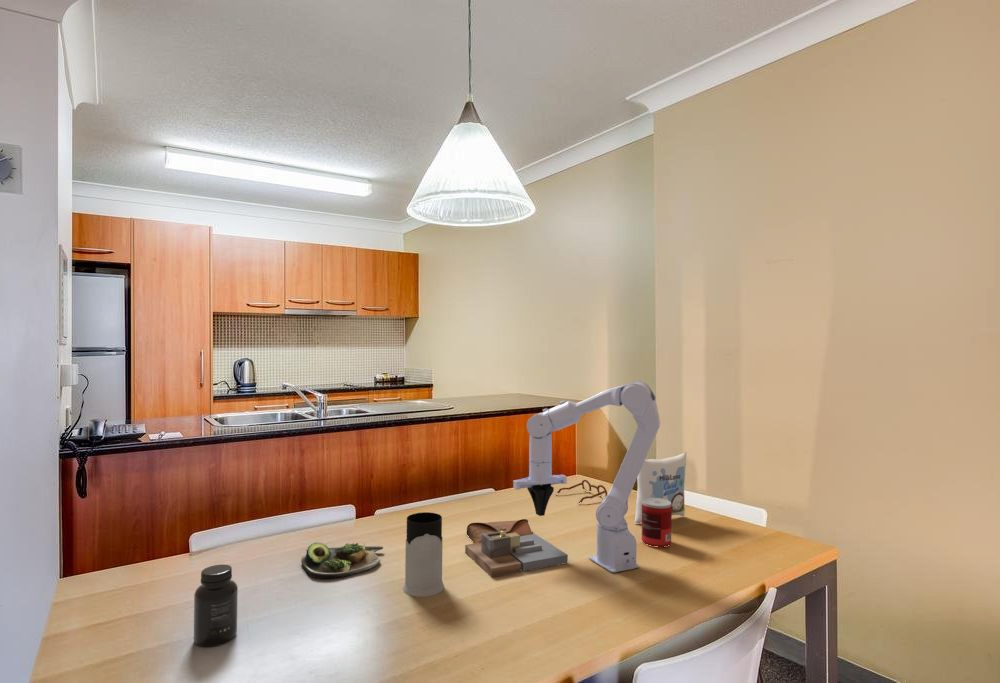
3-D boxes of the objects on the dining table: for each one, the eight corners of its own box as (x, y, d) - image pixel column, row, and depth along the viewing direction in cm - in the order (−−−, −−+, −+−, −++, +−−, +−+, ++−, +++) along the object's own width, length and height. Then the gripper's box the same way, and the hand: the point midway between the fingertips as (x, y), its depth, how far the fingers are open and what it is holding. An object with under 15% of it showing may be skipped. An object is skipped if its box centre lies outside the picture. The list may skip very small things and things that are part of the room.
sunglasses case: (473, 545, 143) (470, 519, 147) (468, 551, 149) (465, 525, 152) (538, 539, 149) (534, 514, 152) (530, 544, 154) (526, 520, 158)
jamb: (521, 571, 127) (521, 544, 127) (491, 577, 124) (492, 549, 124) (492, 548, 142) (492, 524, 142) (465, 552, 138) (465, 528, 138)
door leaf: (567, 563, 132) (567, 550, 133) (523, 571, 127) (523, 558, 127) (535, 541, 147) (535, 530, 147) (494, 548, 142) (494, 536, 142)
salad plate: (371, 544, 145) (371, 526, 145) (398, 567, 130) (398, 547, 130) (294, 559, 134) (294, 540, 134) (314, 586, 119) (314, 564, 119)
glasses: (608, 501, 187) (608, 486, 187) (577, 506, 181) (577, 491, 181) (583, 492, 199) (583, 478, 199) (554, 496, 192) (554, 482, 192)
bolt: (519, 550, 135) (519, 530, 135) (493, 554, 132) (493, 534, 132) (515, 546, 137) (515, 527, 137) (489, 551, 134) (489, 531, 134)
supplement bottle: (243, 627, 101) (244, 561, 101) (226, 648, 94) (227, 577, 94) (205, 627, 101) (206, 561, 101) (185, 648, 94) (186, 577, 94)
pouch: (626, 520, 166) (626, 453, 166) (677, 513, 173) (678, 449, 173) (642, 528, 158) (642, 458, 158) (695, 521, 165) (696, 454, 165)
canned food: (668, 538, 150) (668, 498, 150) (674, 549, 142) (674, 506, 142) (639, 537, 151) (639, 496, 151) (644, 547, 143) (644, 505, 143)
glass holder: (405, 599, 113) (405, 525, 113) (398, 571, 127) (399, 505, 127) (447, 594, 115) (448, 522, 115) (436, 567, 129) (437, 503, 129)
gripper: (556, 455, 147) (556, 506, 147) (507, 460, 140) (507, 513, 140) (571, 460, 140) (571, 514, 140) (521, 465, 134) (520, 522, 134)
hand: (540, 514), depth 140 cm, fingers closed
